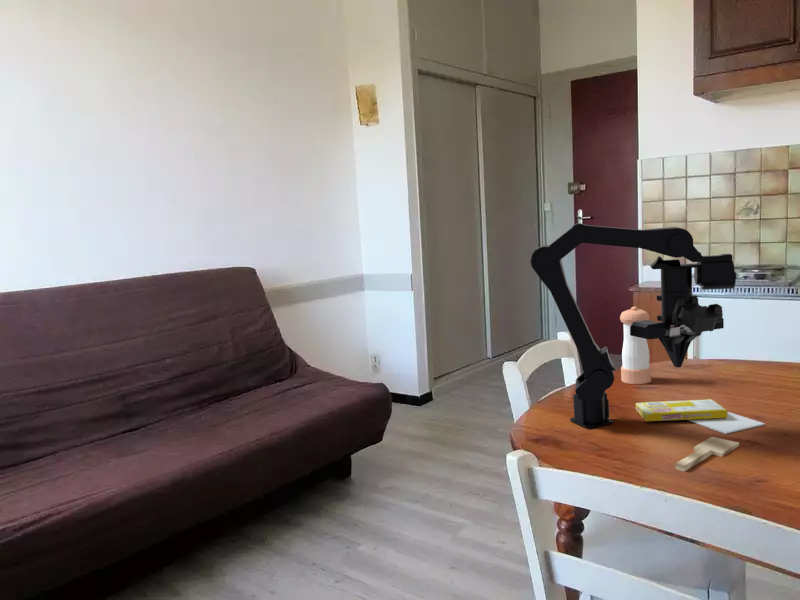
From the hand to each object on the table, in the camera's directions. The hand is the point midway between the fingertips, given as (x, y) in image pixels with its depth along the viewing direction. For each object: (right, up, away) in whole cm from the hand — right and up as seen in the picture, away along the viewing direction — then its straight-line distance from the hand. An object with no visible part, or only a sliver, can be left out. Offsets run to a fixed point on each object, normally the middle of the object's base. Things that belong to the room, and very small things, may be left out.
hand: (677, 367), depth 131 cm
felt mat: (+9, -11, +3) cm, 14 cm away
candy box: (+3, -10, +2) cm, 11 cm away
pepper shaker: (+5, -7, +36) cm, 37 cm away
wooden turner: (-2, -14, -15) cm, 21 cm away
